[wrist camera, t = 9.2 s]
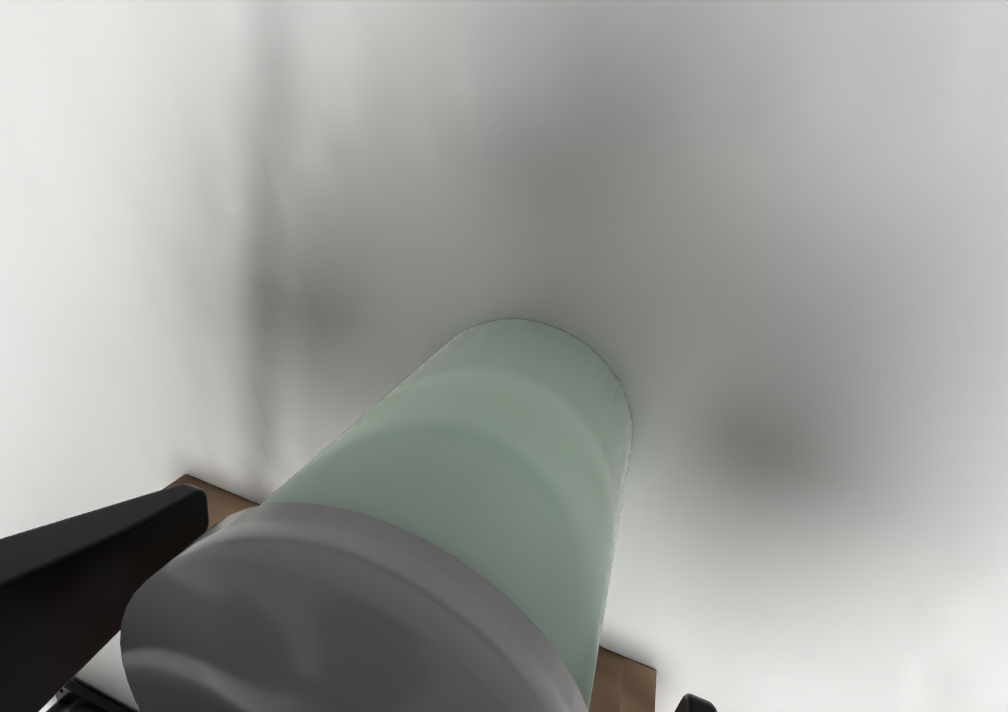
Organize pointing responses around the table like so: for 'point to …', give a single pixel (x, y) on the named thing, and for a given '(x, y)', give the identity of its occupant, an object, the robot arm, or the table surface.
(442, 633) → the jar
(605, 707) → the brown wooden tray
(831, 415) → the table surface
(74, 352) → the table surface
